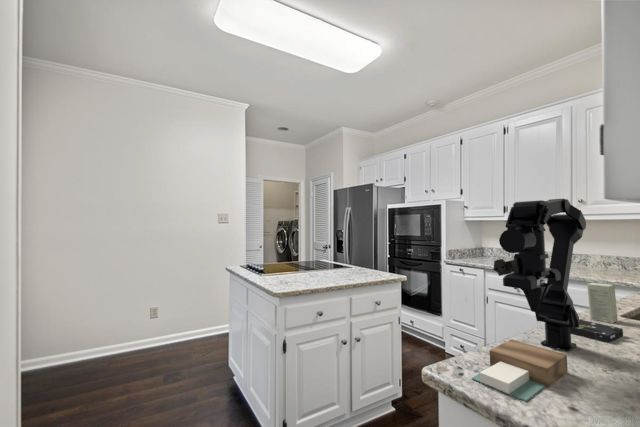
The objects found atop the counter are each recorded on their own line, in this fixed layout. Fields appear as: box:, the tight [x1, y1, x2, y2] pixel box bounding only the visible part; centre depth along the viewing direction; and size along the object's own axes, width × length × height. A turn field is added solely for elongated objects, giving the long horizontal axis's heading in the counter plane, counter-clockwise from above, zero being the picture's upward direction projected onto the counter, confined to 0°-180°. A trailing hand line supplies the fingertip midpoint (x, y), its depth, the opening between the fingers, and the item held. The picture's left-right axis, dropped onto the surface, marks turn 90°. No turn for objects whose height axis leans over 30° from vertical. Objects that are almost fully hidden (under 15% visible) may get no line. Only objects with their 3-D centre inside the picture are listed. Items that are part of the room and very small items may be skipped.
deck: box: [488, 339, 569, 389], centre depth 73 cm, size 11×12×4 cm
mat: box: [471, 373, 546, 403], centre depth 68 cm, size 9×11×1 cm
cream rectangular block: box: [479, 361, 529, 394], centre depth 68 cm, size 9×6×2 cm, turn 123°
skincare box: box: [587, 282, 619, 324], centre depth 106 cm, size 6×4×12 cm
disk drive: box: [568, 319, 624, 344], centre depth 96 cm, size 10×3×15 cm
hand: (534, 311), depth 79 cm, fingers closed
